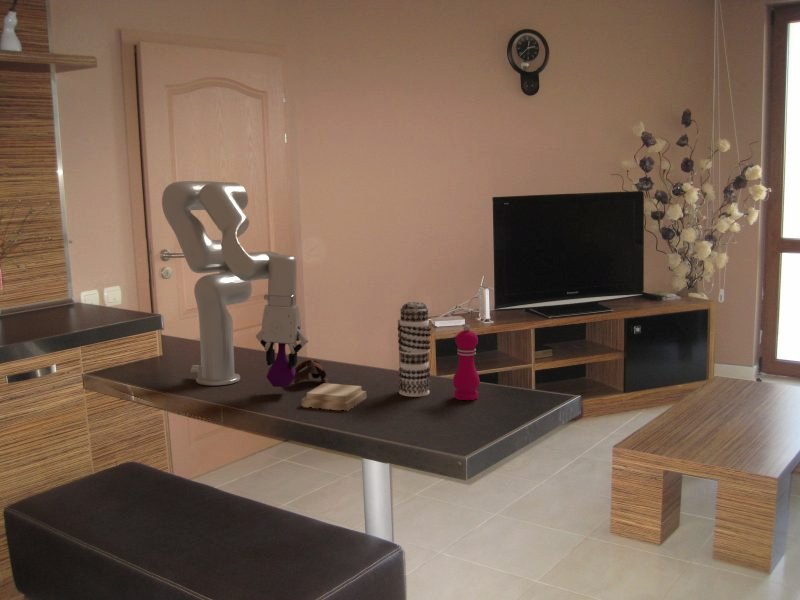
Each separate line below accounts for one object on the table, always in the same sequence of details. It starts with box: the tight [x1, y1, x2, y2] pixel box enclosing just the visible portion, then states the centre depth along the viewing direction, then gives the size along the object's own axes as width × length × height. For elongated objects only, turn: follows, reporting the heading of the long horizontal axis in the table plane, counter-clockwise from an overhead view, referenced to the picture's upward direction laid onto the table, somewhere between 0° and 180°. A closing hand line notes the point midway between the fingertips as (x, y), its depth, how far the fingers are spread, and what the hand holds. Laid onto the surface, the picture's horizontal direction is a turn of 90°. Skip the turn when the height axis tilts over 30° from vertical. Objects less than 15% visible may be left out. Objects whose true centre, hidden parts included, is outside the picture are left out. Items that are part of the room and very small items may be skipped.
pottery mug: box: [293, 358, 330, 385], centre depth 226 cm, size 12×10×8 cm
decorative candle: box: [397, 301, 432, 398], centre depth 213 cm, size 9×9×25 cm
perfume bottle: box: [266, 343, 296, 388], centre depth 212 cm, size 8×8×18 cm
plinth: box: [301, 382, 367, 412], centre depth 205 cm, size 13×13×4 cm
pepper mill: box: [452, 324, 481, 402], centre depth 208 cm, size 7×7×20 cm
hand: (281, 364), depth 213 cm, fingers closed on perfume bottle, 5 cm apart
